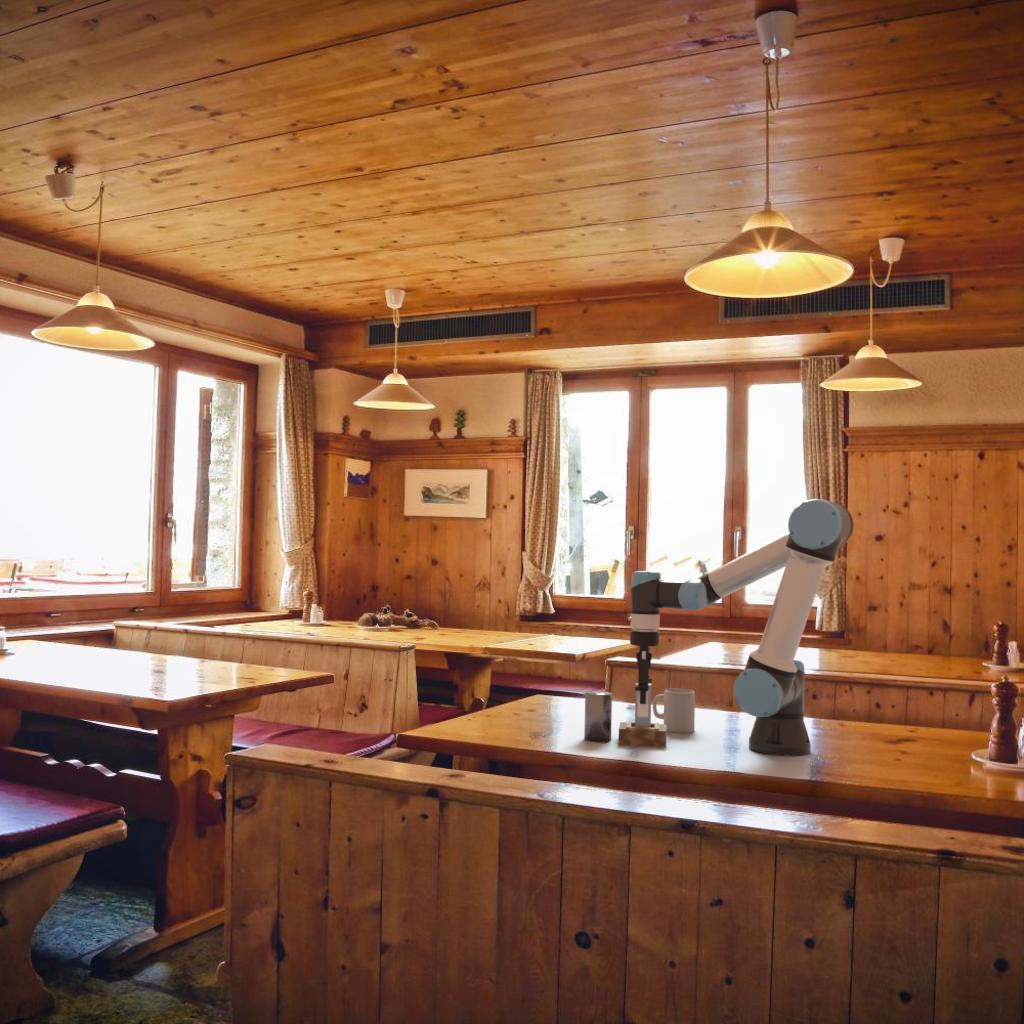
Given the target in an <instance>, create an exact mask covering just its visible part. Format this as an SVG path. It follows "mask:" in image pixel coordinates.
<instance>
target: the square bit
mask: <svg viewBox="0 0 1024 1024" xmlns="http://www.w3.org/2000/svg"><path fill="white" fill-rule="evenodd" d="M648 686H649V690H648V691H649V692H648V717H638V716H637V702H638V691H635V697H634V699H635V706H634V722H635V727H649V728H651V723H652V722H651V721H652V719H651V718H652V682H651V683H648ZM635 687H638V682H635Z"/></svg>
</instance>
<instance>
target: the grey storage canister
mask: <svg viewBox="0 0 1024 1024" xmlns="http://www.w3.org/2000/svg"><path fill="white" fill-rule="evenodd" d="M584 694H585V695H584V736H583V737H584V738H583V739H584V740H585V741H586V742H591V743H592V742H593V743H608V742H611V741H612V718H613V717H612V716H613V715H612V712H613V711H612V710H613V709H612V706H613V693H611V692H608V691H607V692H606V691H597V690H595V691H586V692H585V693H584Z"/></svg>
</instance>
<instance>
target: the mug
mask: <svg viewBox="0 0 1024 1024" xmlns="http://www.w3.org/2000/svg"><path fill="white" fill-rule="evenodd" d="M695 699H696V691H694V690H693V689H688V688H666V689H664V691H663V693H661V694H657V695H655V696H654V698H653V701H652V712H653V713H652V714H653V715H654V717H655V718H657V719H660V720H663V724H666V732H668V733H675V734H676V733H677V734H690V733H694V732H695V723H696V722H695V717H696V716H695V714H696V713H695V709H696V706H695V705H696V704H695V702H696V700H695ZM659 700H660V701H663V712H662V713H660V712H658V709H657V704H658V701H659Z"/></svg>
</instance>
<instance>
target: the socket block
mask: <svg viewBox="0 0 1024 1024" xmlns="http://www.w3.org/2000/svg"><path fill="white" fill-rule="evenodd" d="M626 721H627V720H626ZM626 721H624V722H623V721H621V722H619V727H618V745H619V746H620V745H621V746H636V747H640V746H641V747H655V748H656V747H657V748H667V731H666V724H664V723H663V724H662V723H660V722H651V728H649V727H635V721H627V722H626Z"/></svg>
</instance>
